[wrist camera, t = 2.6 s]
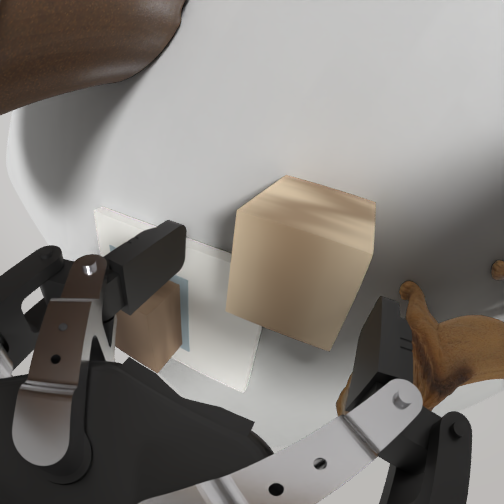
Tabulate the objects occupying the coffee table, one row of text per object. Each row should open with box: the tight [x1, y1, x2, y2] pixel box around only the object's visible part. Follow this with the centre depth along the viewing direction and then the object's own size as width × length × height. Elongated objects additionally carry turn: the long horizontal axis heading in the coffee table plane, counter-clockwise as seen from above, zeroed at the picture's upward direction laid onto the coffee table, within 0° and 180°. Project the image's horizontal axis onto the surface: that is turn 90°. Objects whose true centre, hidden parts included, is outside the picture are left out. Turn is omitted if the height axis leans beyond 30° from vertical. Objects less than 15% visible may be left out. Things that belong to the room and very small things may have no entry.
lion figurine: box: [336, 260, 504, 416], centre depth 10 cm, size 15×5×9 cm, turn 121°
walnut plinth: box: [115, 280, 182, 373], centre depth 22 cm, size 7×7×4 cm
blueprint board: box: [94, 206, 262, 393], centre depth 24 cm, size 16×14×1 cm
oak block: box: [225, 175, 376, 351], centre depth 13 cm, size 5×5×6 cm
